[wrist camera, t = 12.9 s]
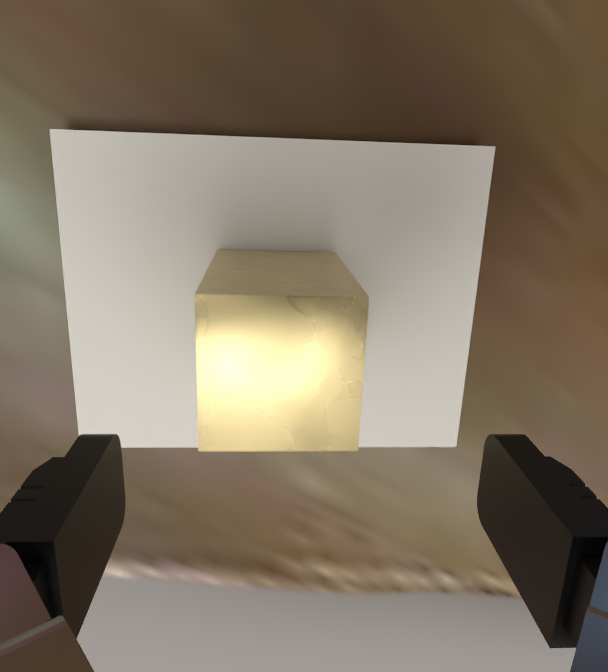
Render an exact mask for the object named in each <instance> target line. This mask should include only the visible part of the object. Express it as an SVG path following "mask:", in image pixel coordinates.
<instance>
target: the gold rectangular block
mask: <svg viewBox="0 0 608 672" xmlns="http://www.w3.org/2000/svg"><path fill="white" fill-rule="evenodd" d="M368 307H369V296H368V295H367V294H366V292H365V291H364V290H363V288H362V287H361V286H360V284H359V283H358V282H357V280H356V279H355V277H354V276H353V275H352V273H351V272H350V271H349V269H348V268H347V267H346V265H345V264H344V263H343V261H342V260H341V258H340V257H339V256H338V254H337V253H336V252H306V251H265V250H224V249H217V251H216V253H215V255H214V257H213V259H212V261H211V263H210V265H209V267H208V269H207V271H206V273H205V275H204V277H203V279H202V281H201V283H200V285H199V287H198V289H197V291H196V292H195V328H196V370H197V411H198V451H358V445H359V432H360V418H361V404H362V390H363V376H364V362H365V348H366V334H367V321H368Z"/></svg>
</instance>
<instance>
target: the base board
mask: <svg viewBox="0 0 608 672" xmlns="http://www.w3.org/2000/svg"><path fill="white" fill-rule="evenodd" d="M50 139H51V149H52V159H53V170H54V180H55V191H56V201H57V212H58V222H59V233H60V243H61V254H62V264H63V275H64V285H65V296H66V306H67V317H68V327H69V338H70V348H71V359H72V369H73V380H74V390H75V401H76V411H77V421H78V432H79V436H80V435H81V434H117V435H118V436H119V438H120V443H121V447H198V411H197V370H196V328H195V292H196V291H197V289H198V287H199V285H200V283H201V281H202V279H203V277H204V275H205V273H206V271H207V269H208V267H209V265H210V263H211V261H212V259H213V257H214V255H215V253H216V251H217V249H224V250H265V251H306V252H336V253H337V254H338V256H339V257H340V258H341V260H342V261H343V263H344V264H345V265H346V267H347V268H348V269H349V271H350V272H351V273H352V275H353V276H354V277H355V279H356V280H357V282H358V283H359V284H360V286H361V287H362V288H363V290H364V291H365V292H366V294H367V295H368V296H369V307H368V321H367V334H366V348H365V362H364V376H363V390H362V404H361V418H360V432H359V445H358V447H456V444H457V437H458V429H459V421H460V414H461V406H462V398H463V391H464V383H465V375H466V368H467V360H468V353H469V345H470V337H471V330H472V322H473V314H474V307H475V299H476V291H477V284H478V276H479V268H480V261H481V253H482V246H483V238H484V230H485V223H486V215H487V207H488V200H489V192H490V184H491V177H492V169H493V162H494V154H495V146H470V145H444V144H419V143H393V142H368V141H342V140H317V139H291V138H266V137H240V136H215V135H189V134H164V133H138V132H113V131H87V130H62V129H50Z"/></svg>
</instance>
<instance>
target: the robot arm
mask: <svg viewBox="0 0 608 672" xmlns="http://www.w3.org/2000/svg"><path fill="white" fill-rule="evenodd" d="M477 507H478V514H479V518H480V522H481V524H482V526H483V528H484V530H485V532H486V534H487V535H488V537H489V539H490V541H491V543H492V544H493V546H494V548H495V550H496V552H497V553H498V555H499V557H500V559H501V561H502V562H503V564H504V566H505V568H506V570H507V571H508V573H509V575H510V577H511V579H512V580H513V582H514V584H515V586H516V588H517V589H518V591H519V593H520V595H521V597H522V598H523V600H524V602H525V604H526V606H527V607H528V609H529V611H530V613H531V614H532V616H533V618H534V620H535V622H536V624H537V625H538V627H539V629H540V631H541V633H542V634H543V636H544V638H545V640H546V642H547V643H548V645H549V647H550V648H571V647H572V648H573V647H574V648H575V647H576V652H575V656H574V659H573V663H572V667H571V671H570V672H608V508H607V507H606V506H605V505H604V504H603V503H602V502H601V501H600V499H597V498H596V495H595V494H594V493H593V492H592V491H591V490H590V489H589V488H588V487H585V483H584V482H583V481H582V480H581V479H580V478H579V477H578V476H577V475H576V474H575V473H574V472H573V471H572V470H571V469H570V468H568V467H567V466H565V465H563V464H562V463H560V462H558V461H557V460H555V459H553V458H552V457H545V456H544V455H543V454H542V453H541V452H540V451H539V450H538V448H537V447H536V446H535V445H534V444H533V443H532V442H531V441H530V439H529V438H528V437H527V436H526V435H523V434H491V435H489V436H488V437H487V439H486V441H485V445H484V452H483V459H482V466H481V473H480V481H479V488H478V495H477ZM124 514H125V488H124V476H123V464H122V453H121V443H120V438H119V436H118V435H117V434H81V435H80V436H79V437H78V438H77V440H76V441H75V442H74V444H73V445H72V447H71V448H70V450H69V451H68V453H67V454H66V456H65V457H53V458H51V459H50V460H48V461H47V462H45V463H44V464H42V465H41V466H39V467H38V468H36V469H35V470H33V471H32V472H31V474H30V475H29V476H28V478H27V479H26V480H25V482H24V483H23V484H22V486H21V489H20V490H18V491H17V492H16V494H15V495H14V496H13V497H12V499H11V503H8V504H7V505H6V507H5V508H4V509H3V511H2V512H1V513H0V672H94V670H93V669H92V667H91V665H90V663H89V661H88V660H87V658H86V656H85V654H84V652H83V650H82V649H81V647H80V645H79V644H78V641H77V640H76V639H77V636H78V634H79V631H80V629H81V626H82V624H83V621H84V619H85V617H86V614H87V612H88V609H89V607H90V604H91V602H92V599H93V597H94V594H95V592H96V590H97V587H98V585H99V582H100V580H101V577H102V575H103V572H104V570H105V567H106V565H107V562H108V560H109V558H110V555H111V553H112V550H113V548H114V545H115V543H116V540H117V538H118V535H119V533H120V530H121V528H122V525H123V520H124Z"/></svg>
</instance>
